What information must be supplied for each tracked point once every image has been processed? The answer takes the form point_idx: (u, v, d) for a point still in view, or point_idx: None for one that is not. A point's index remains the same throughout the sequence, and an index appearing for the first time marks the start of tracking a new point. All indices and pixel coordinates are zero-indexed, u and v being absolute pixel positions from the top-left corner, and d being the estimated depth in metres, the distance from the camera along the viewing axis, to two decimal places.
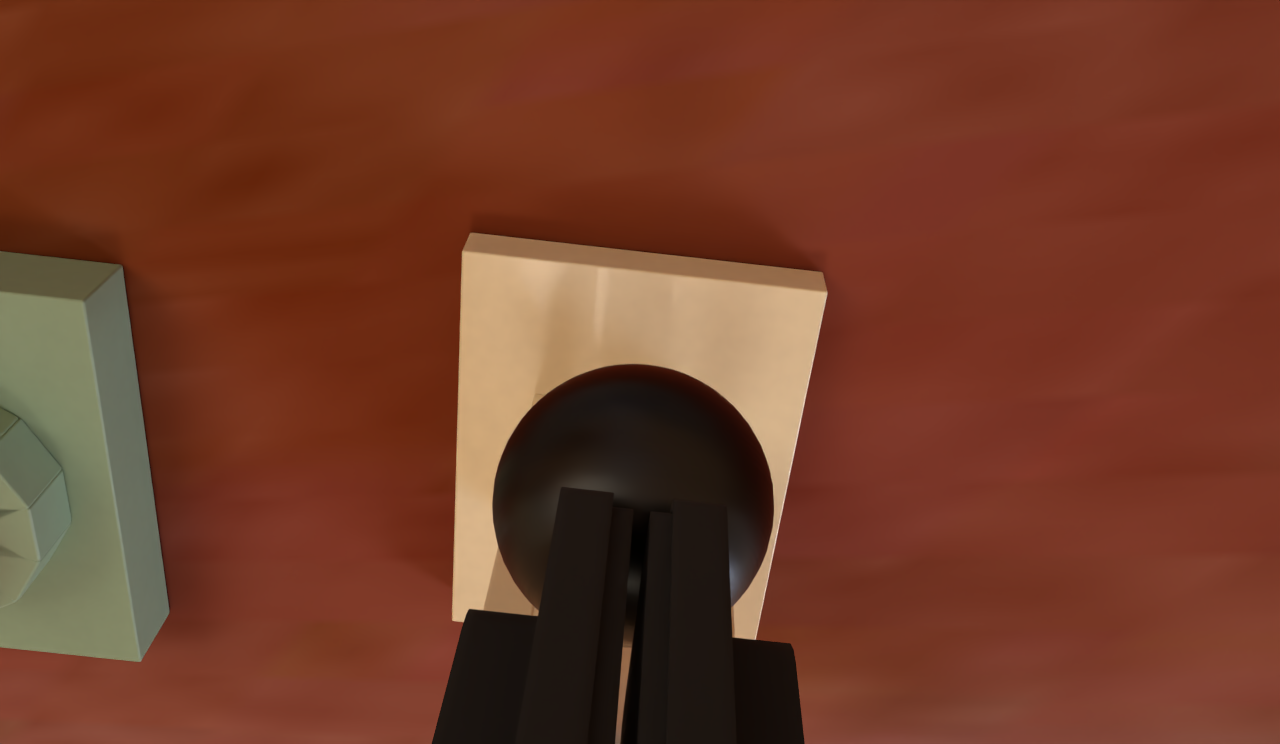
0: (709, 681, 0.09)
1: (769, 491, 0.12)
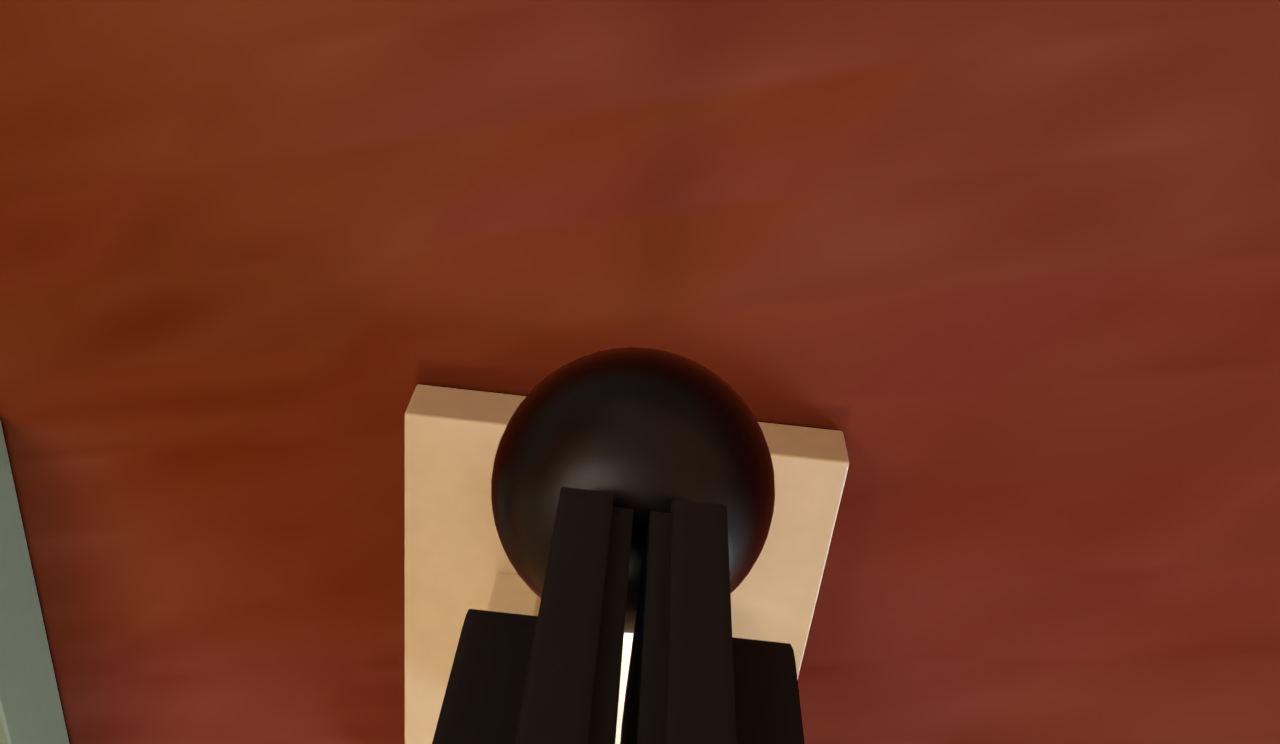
0: (709, 681, 0.09)
1: (769, 451, 0.13)
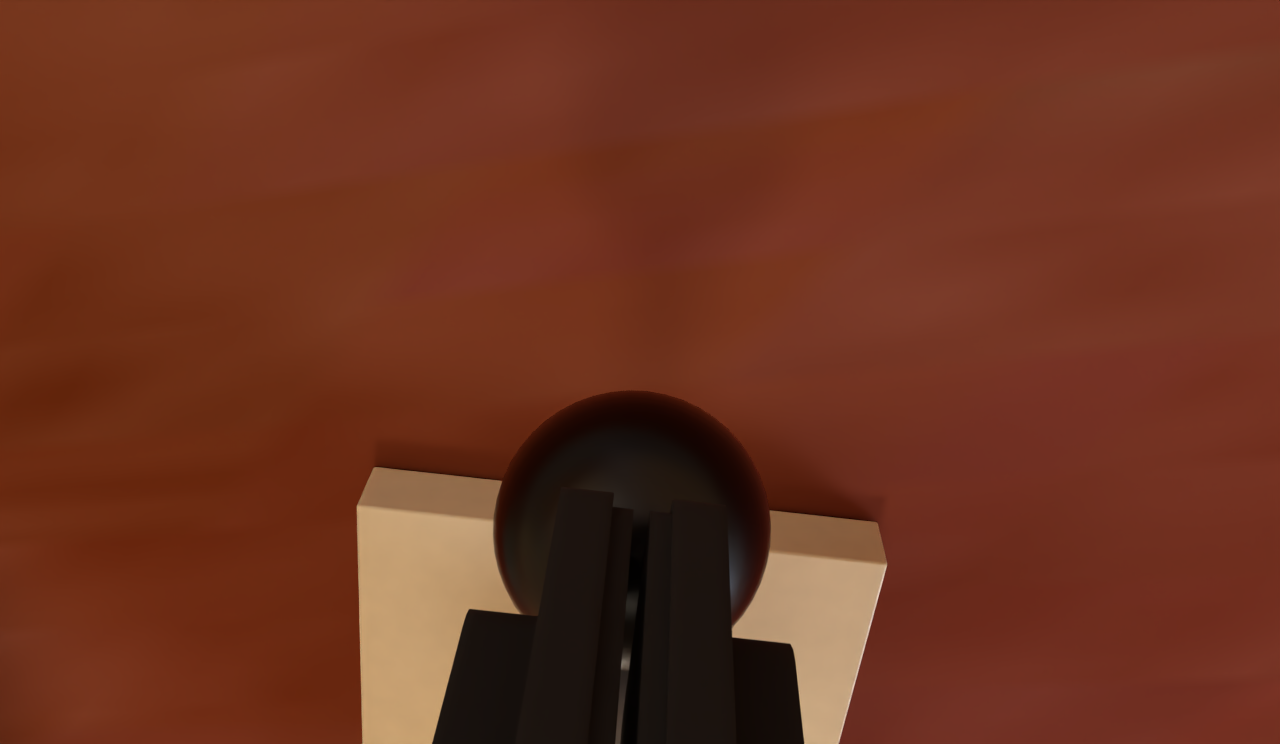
0: (709, 681, 0.09)
1: None
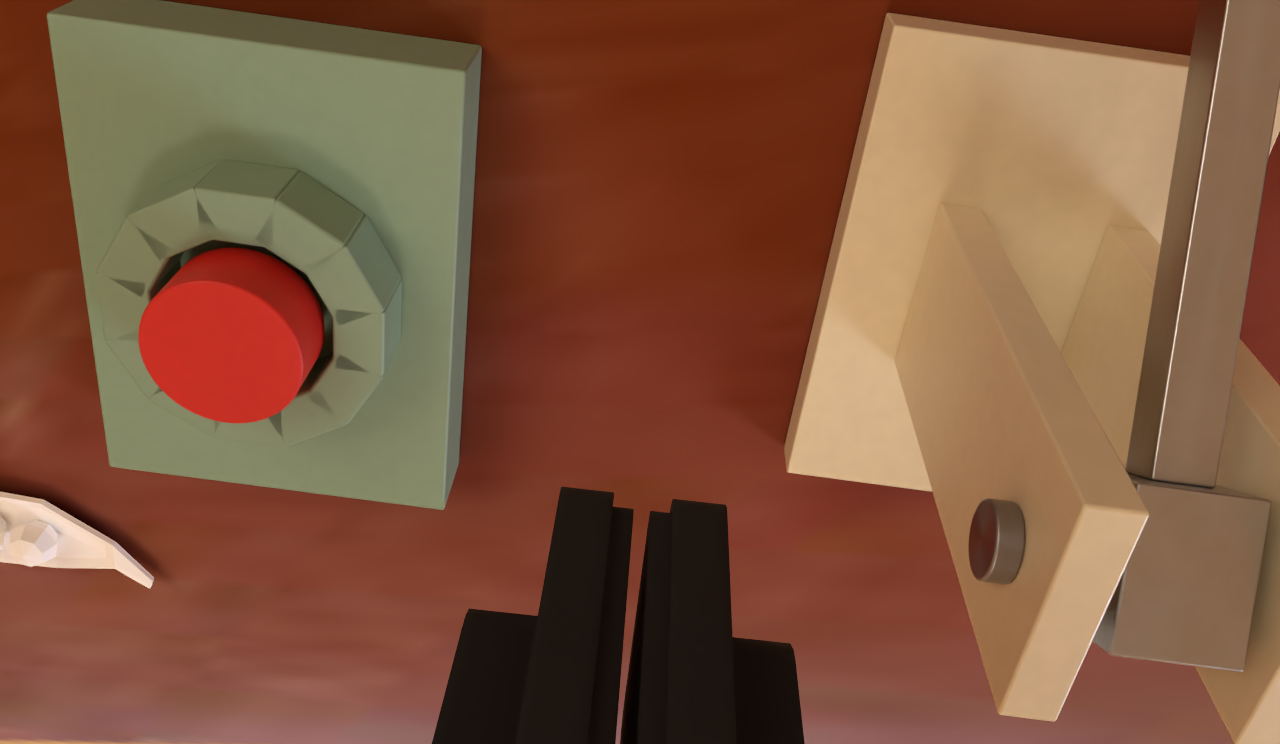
0: (709, 681, 0.09)
1: None
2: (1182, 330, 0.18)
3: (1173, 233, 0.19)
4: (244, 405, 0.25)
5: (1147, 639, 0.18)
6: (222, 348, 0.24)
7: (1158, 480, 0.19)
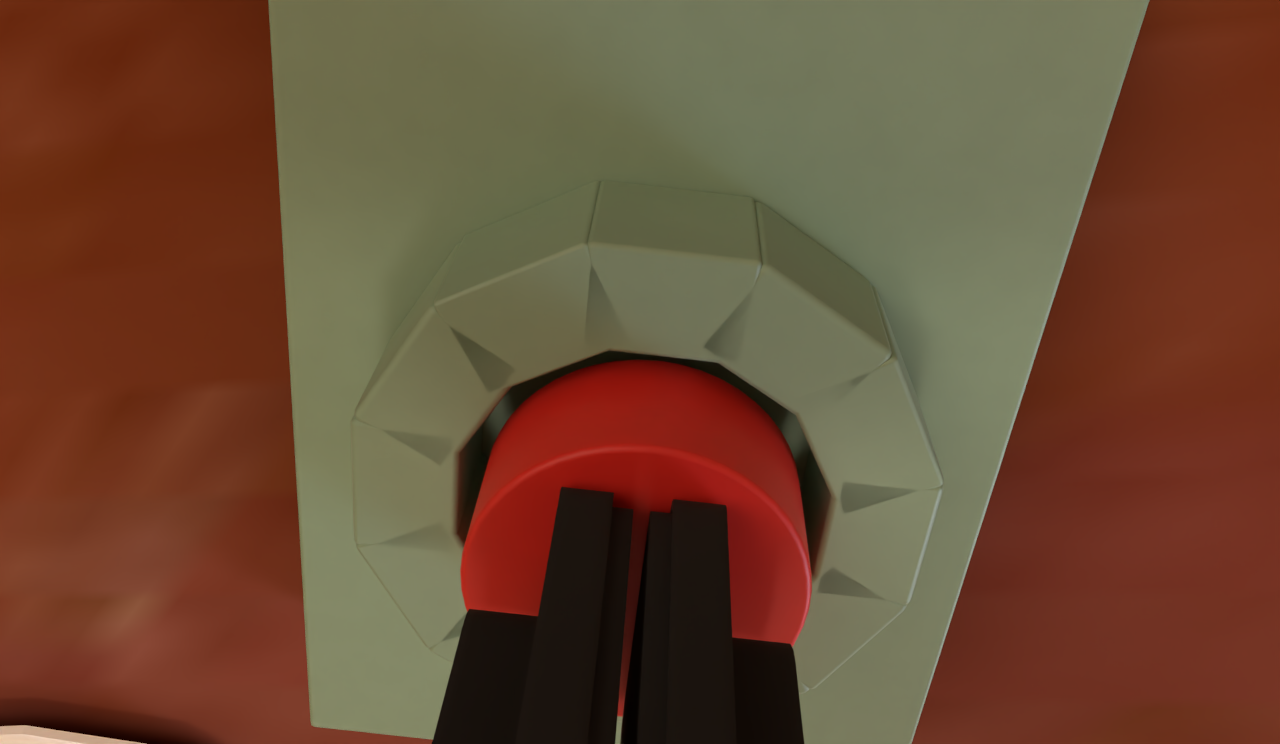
0: (709, 681, 0.09)
1: None
2: None
3: None
4: None
5: None
6: None
7: None
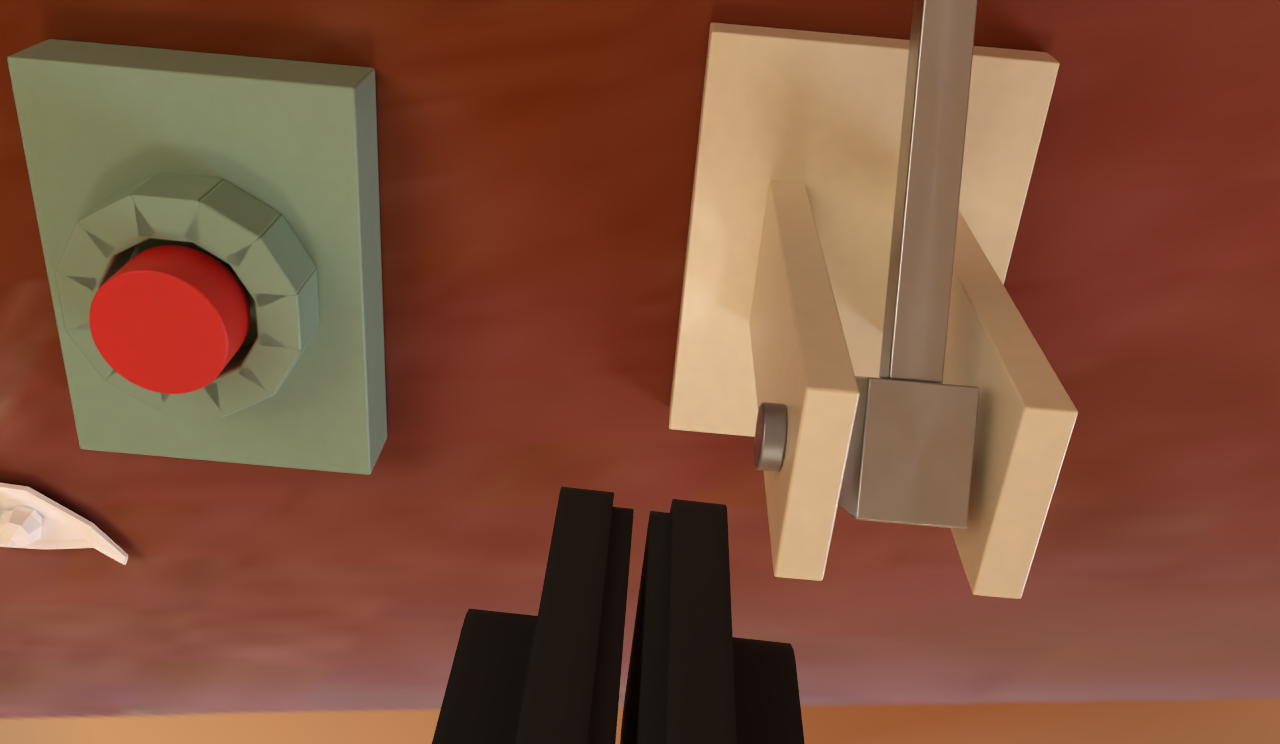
0: (709, 681, 0.09)
1: None
2: (906, 255, 0.23)
3: (900, 179, 0.23)
4: (181, 377, 0.30)
5: (884, 504, 0.22)
6: (159, 328, 0.29)
7: (894, 378, 0.23)
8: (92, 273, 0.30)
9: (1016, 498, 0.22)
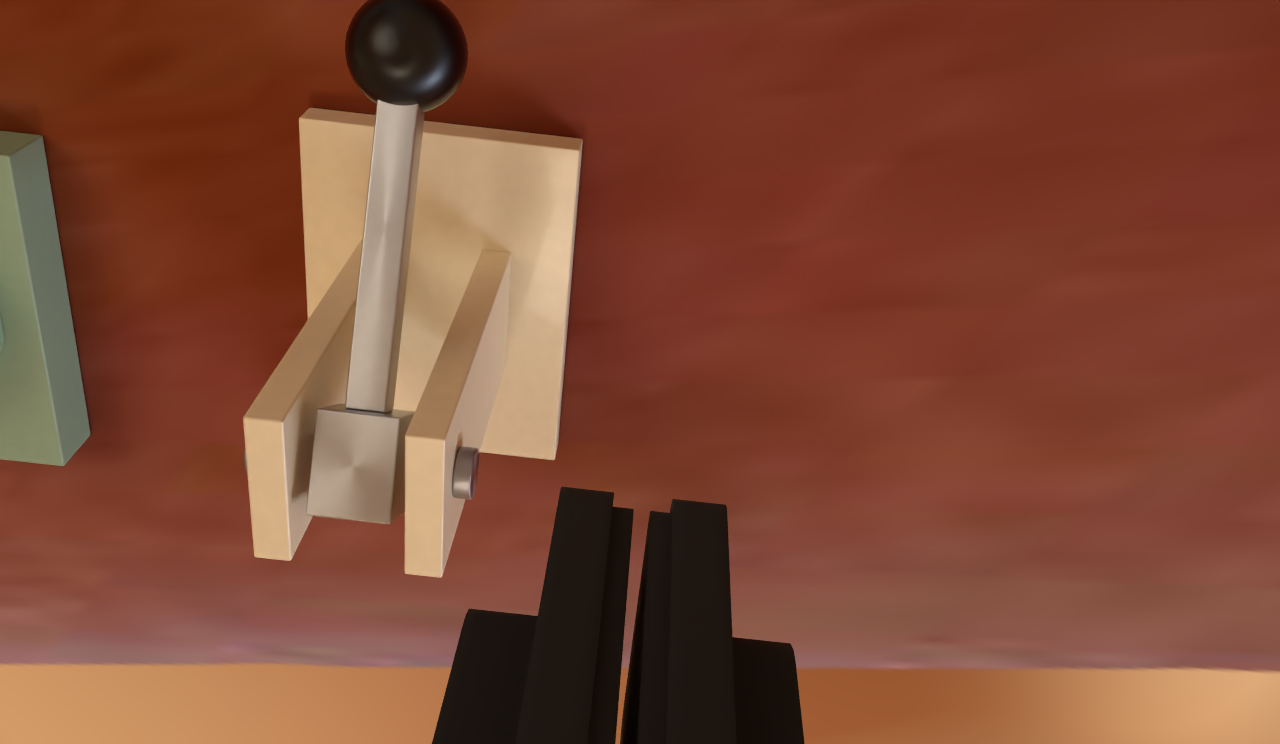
0: (709, 681, 0.09)
1: None
2: (358, 315, 0.30)
3: None
4: None
5: (327, 504, 0.29)
6: None
7: (348, 408, 0.30)
8: None
9: (416, 502, 0.29)
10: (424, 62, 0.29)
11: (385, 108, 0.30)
